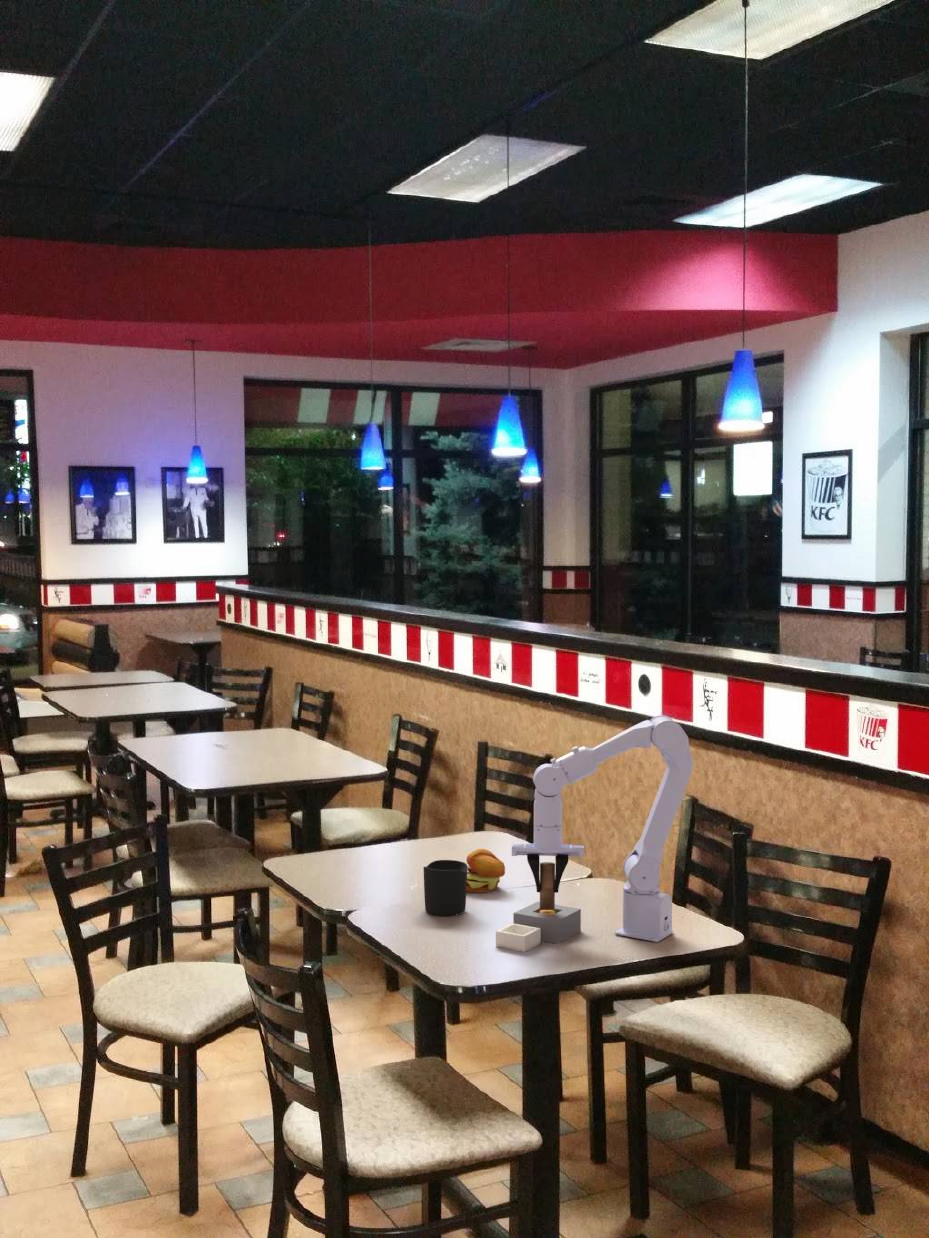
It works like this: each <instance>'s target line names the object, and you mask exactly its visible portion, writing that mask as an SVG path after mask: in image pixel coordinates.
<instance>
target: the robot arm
mask: <svg viewBox="0 0 929 1238" xmlns="http://www.w3.org/2000/svg"><path fill="white" fill-rule="evenodd" d="M689 743H690V742H689V736H688V735H687V733H686V732H685V730H684V729H683V727H682V726H681V725H680V724H679V722H676V721H674V719H673V718H671V717H669V716H667V715H664V714H661V715H655V716H654V717H652V718H651V719H650V720H649V719H646V720H643V721H641V722H639V723H637V724H635V725H633V726H631V727H629V728H627V729H625V730H623V731H622V732H620V733H618V734H616V735H615V736H612V737H610V738H609V739H607V740H605V741H604V742H602V743H600V744H598V745H596V746H594V747H593V748H590V747H587V746H584V745H583V746H580V747H578V746H577V745H576V746H574V747H572V748H571V751H570V752H568V753H567V754H564V755H562V756H561V757H559V758H557V759H556V758H555V757H553V758H551V759H550V761H549V762H550V763H544V764H541V765H539V766H538V767H537V768H536V769H535V771H534V773H533V776H532V782H533V784H534V786H535V789H534V801H533V843H523V844H521V843H520V844H519V843H518V844H511V857H517V856H526V858H527V859H526V860H527V863H528V866H529V867H530V870H531V873H532V876H533V878H534V883H535V889H536V893H540V863H541V862H540V856H543V857H544V856H546V857H548V856H549V857H550V856H551V857H553V856H554V858H555V859H554V860H555V894H556V893H557V894H558V893H559V888H560V884H561V880H562V877H563V875H564V872H565V869H566V867H567V866H568V863H569V857H579V858H585V846H584V845H580V844H579V845H577V844H565V843H563V801H562V791H563V790H564V788H565V786H571V785H572V784H574V783H576V782H578V781H580V780H582V779H584V778H586V777H589V776H590V775H593V774H594V773H597V770H598V767H599V765H600V763H603V762H605V761H607V760H609V759H611V758H614V757H616V756H618V755H621V754H623V753H624V752H627V751H630V750H631V749H633V748H641V749H652V745H653V746H654V747H656V749H657V750H658V751H659V753H660V755H661V756H662V759H663V761H664V762H665V765H666V769H665V772H664V774H663V777H662V780H661V781H660V784H659V788H658V790H657V793H656V796H655V798H654V800H653V804H652V806H651V809H650V812H649V815H648V817H647V819H646V822H645V825H644V827H643V831H642V834H641V836H640V838H639V839H638V841H637V842H636V843H635V845H634V848H633V850H632V851H631V853H630V854H628V856H626V857H625V859H624V861H623V864H622V871H623V874H624V876H625V877H626V878H627V880H626V882H625V883H624V885H623V886H622V927H621V928H619V929H618V930H616V931H615V932H614V935H616V936H622V937H627V938H633V939H638V940H639V939H640V940H645V941H650V942H656V943H658V942H660V941H662V940H664V939H665V938H667V937H668V936H670V935H671V934H673V933H674V930H673V929H672V928H673V900H672V897H671V895H670V894H667V893H664V892H663V891H661V890H660V886H659V885H660V882H661V881H660V880H661V875H660V869H661V864H662V863H663V854H664V853H663V852H664V848H665V844H666V842H667V839H668V837H669V835H670V831H671V829H672V827H673V823H674V821H675V818H676V815H677V813H678V811H679V807H680V805H681V802H682V800H683V797H684V794H685V791H686V789H687V786H688V784H689V781H690V777H691V775H692V773H693V770H694V762H693V761H694V760H693V757H692V753H691V752H692V751H691V748H690V744H689Z"/></svg>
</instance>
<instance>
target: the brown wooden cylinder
mask: <svg viewBox="0 0 929 1238" xmlns="http://www.w3.org/2000/svg"><path fill="white" fill-rule="evenodd" d="M555 873H556V862H550V861H544V862H540V866H539V878H540V892H539V902H540V909H542V910H553V909H555V905H556V901H555V900H556V899H555V898H556V895H555V894H556V893H555Z"/></svg>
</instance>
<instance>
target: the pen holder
mask: <svg viewBox="0 0 929 1238" xmlns="http://www.w3.org/2000/svg"><path fill="white" fill-rule="evenodd" d="M467 866H468V864H467V862H464V861H460V860H453V859H438V860H434V861H432V862H430V863H429V864H428V865H426V866H423V888H424V889H423V892H424V895H423V896H424V909H425V911H426V913H427V912H428V913H427V914H429V915H431V914H432V916H435V915H437V916H436V917H454V916H453V915H455V916H457V915H456V914H459V915H461V914H460V913H462V912H463V913H464V912H465V911H466V903H467V902H466V901H467V890H466V888H467ZM463 913H462V914H463Z"/></svg>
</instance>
